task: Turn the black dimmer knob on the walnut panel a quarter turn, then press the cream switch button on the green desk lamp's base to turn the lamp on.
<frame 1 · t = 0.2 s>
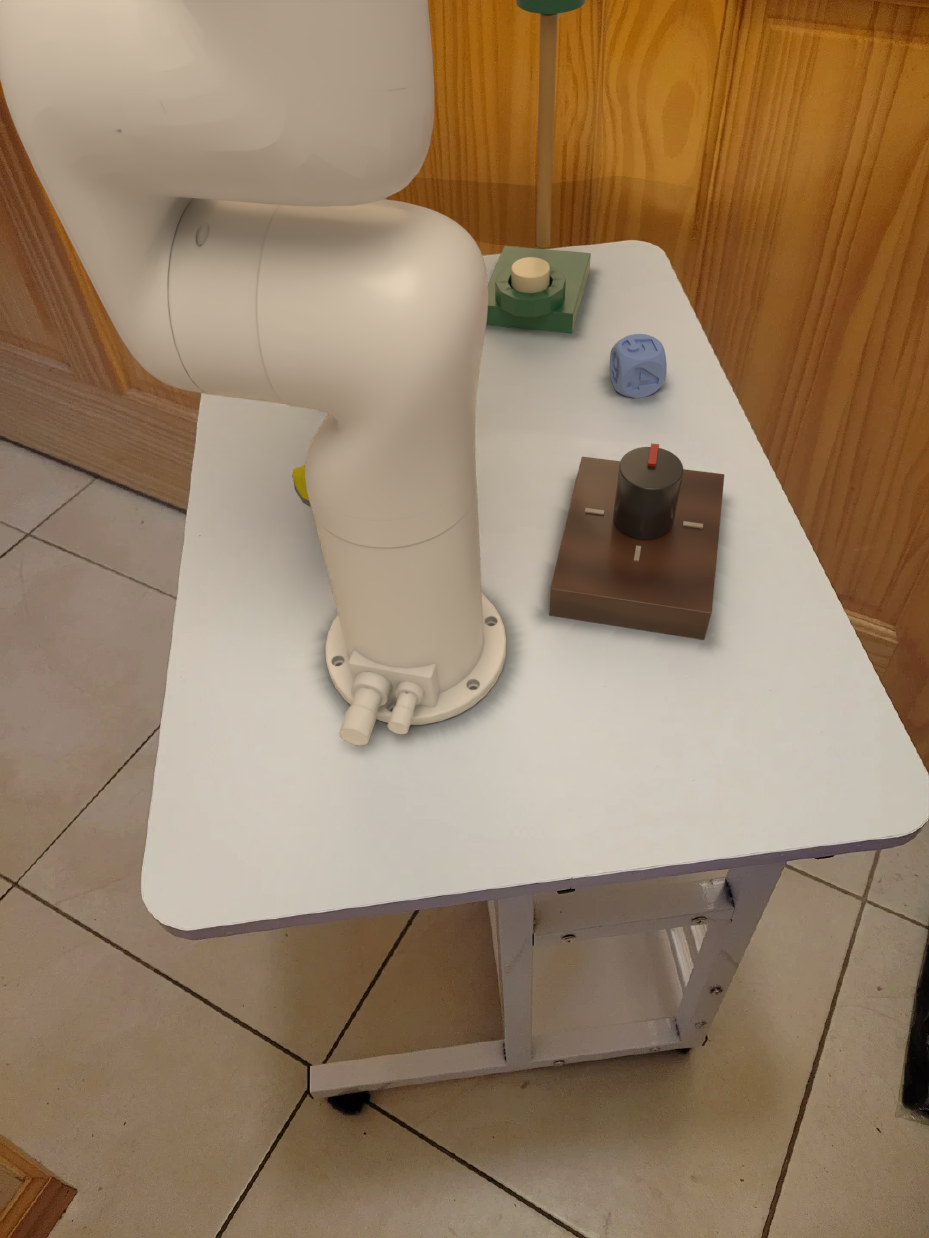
lamp switch: (530, 275, 84), point 4 cm above the table, slide at 0.1 cm
gaming controller: (379, 476, 75), on the table
decorative dice: (635, 386, 81), on the table
dimmer panel: (637, 556, 68), on the table
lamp: (548, 103, 79), on the lamp base, point 17 cm above the table
lamp base: (536, 298, 90), on the table
dimmer knob: (647, 492, 64), point 6 cm above the table, hinge at 0.0°
plastic bottle: (371, 349, 86), on the table
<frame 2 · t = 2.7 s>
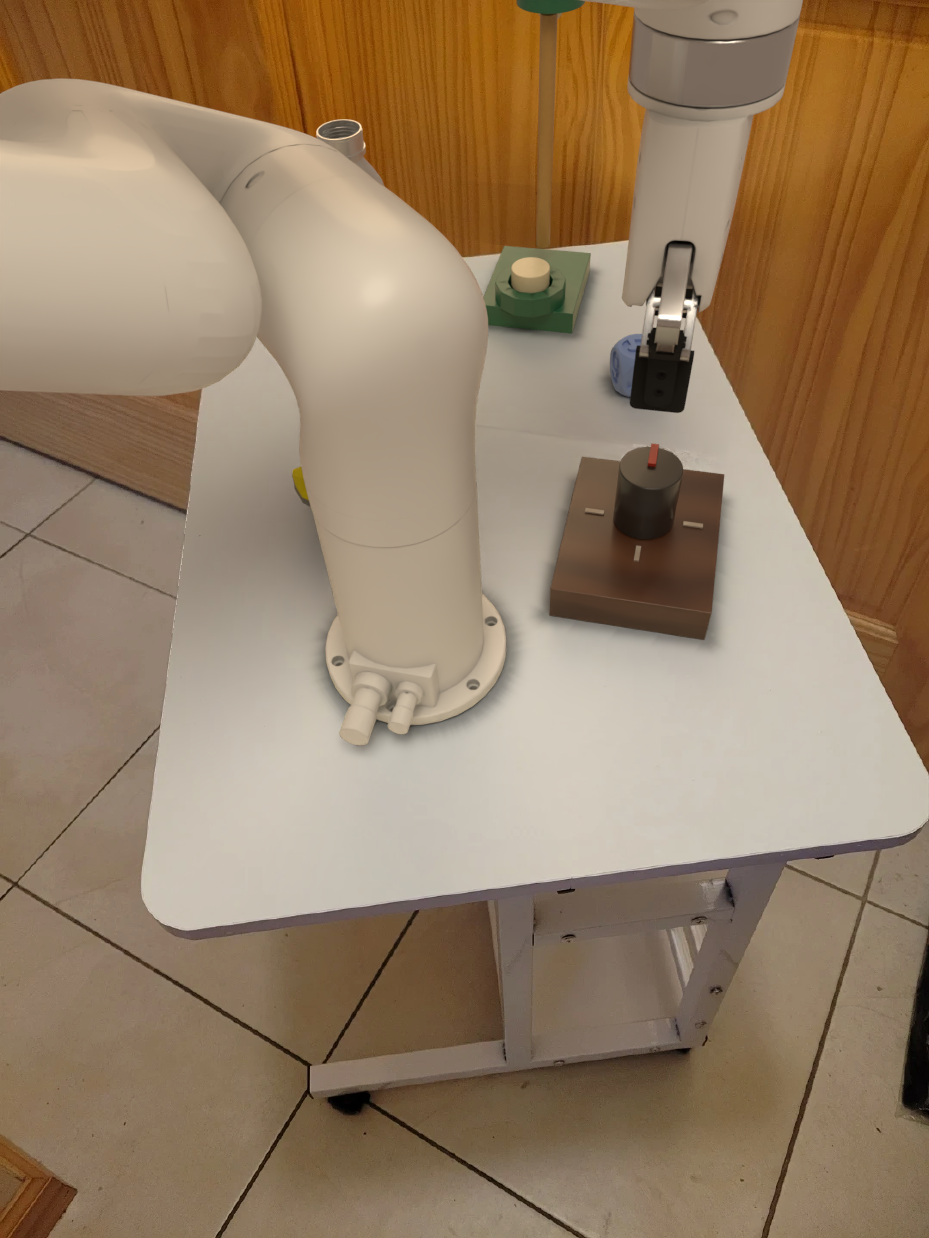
hand: (664, 358, 56), 16 cm above the table, tool pointing down, fingers open, 9 cm apart
nothing on the table moved.
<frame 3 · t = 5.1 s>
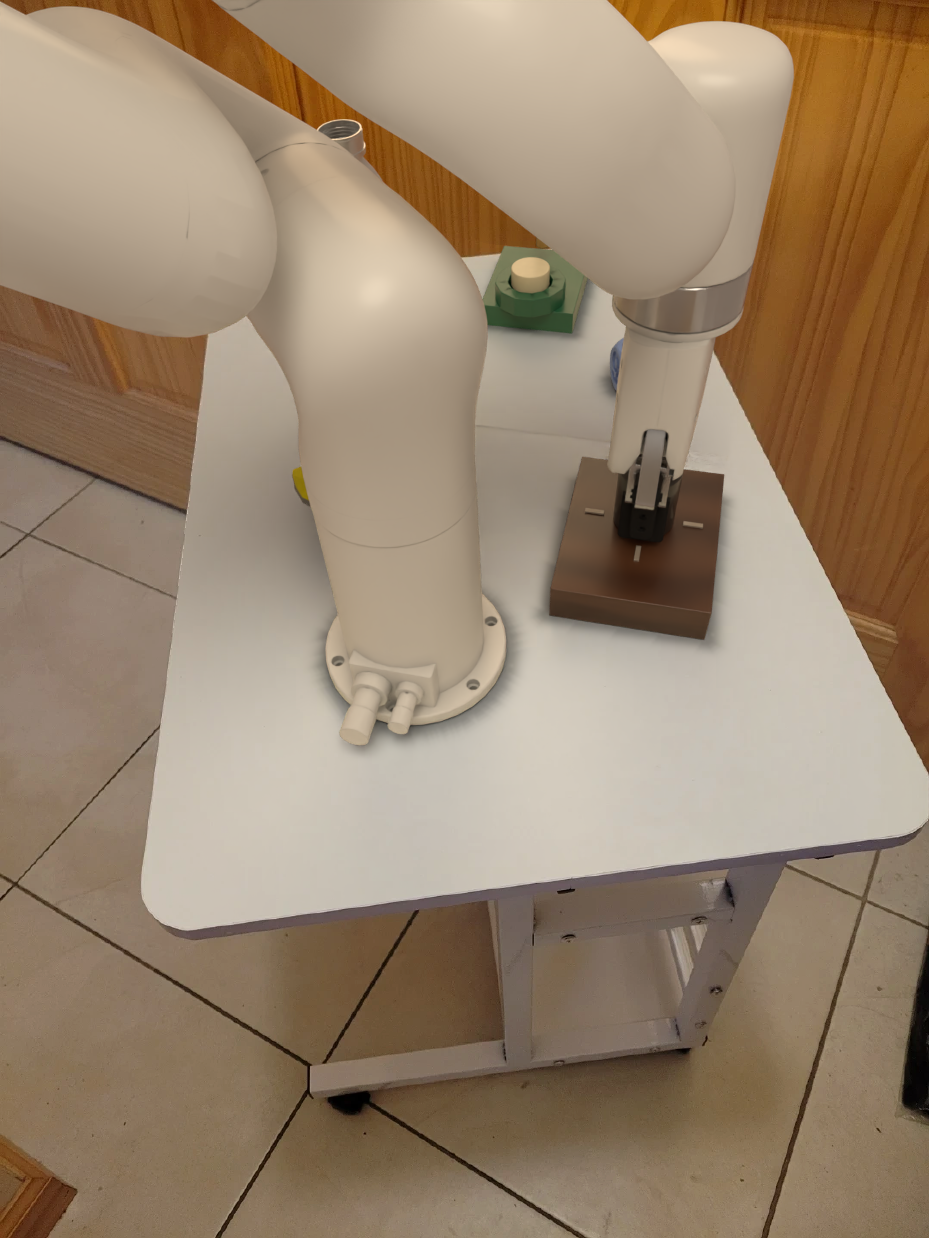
hand: (644, 509, 65), 4 cm above the table, tool pointing down, fingers closed on dimmer knob, 4 cm apart
dimmer knob: (647, 492, 64), point 6 cm above the table, hinge at 0.0°, touching gripper
everything else where it was.
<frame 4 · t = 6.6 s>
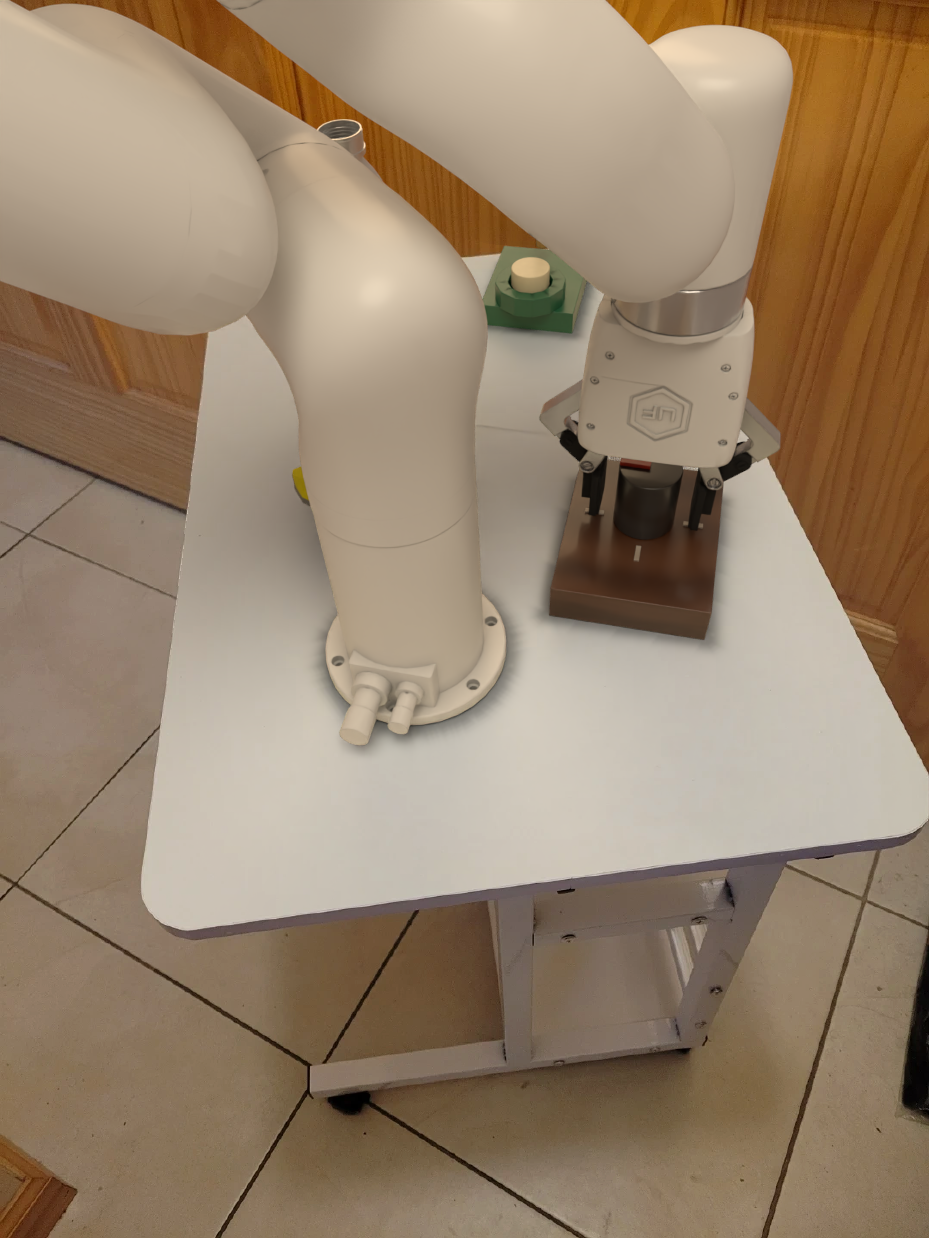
hand: (644, 508, 65), 4 cm above the table, tool pointing down, fingers open, 6 cm apart
dimmer knob: (647, 492, 64), point 6 cm above the table, hinge at 88.2°
everything else where it was.
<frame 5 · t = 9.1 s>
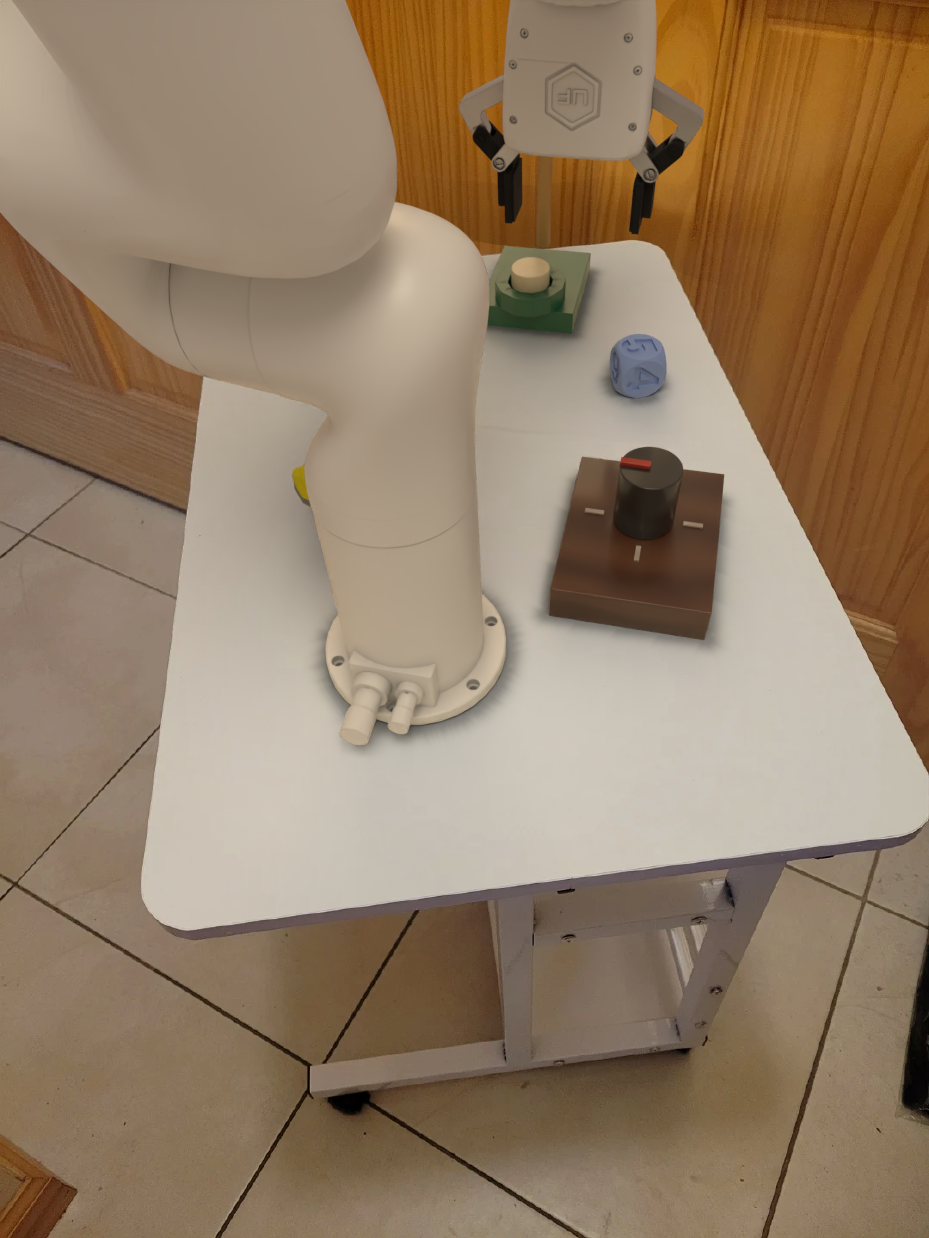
hand: (574, 219, 69), 15 cm above the table, tool pointing down, fingers open, 9 cm apart
nothing on the table moved.
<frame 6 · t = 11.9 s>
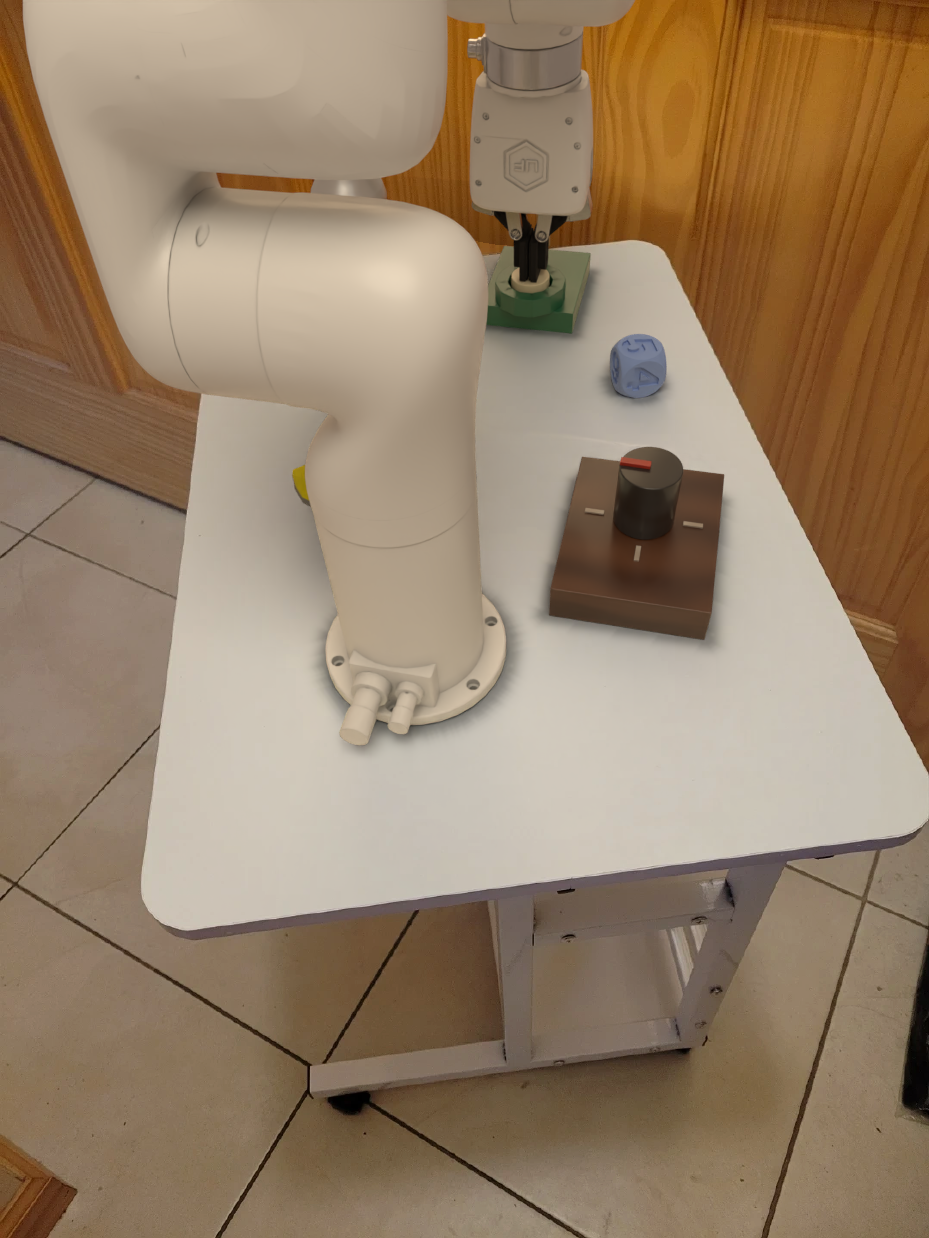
hand: (530, 273, 84), 5 cm above the table, tool pointing down, fingers closed
lamp switch: (530, 283, 85), point 4 cm above the table, slide at -0.7 cm, touching gripper
everything else where it was.
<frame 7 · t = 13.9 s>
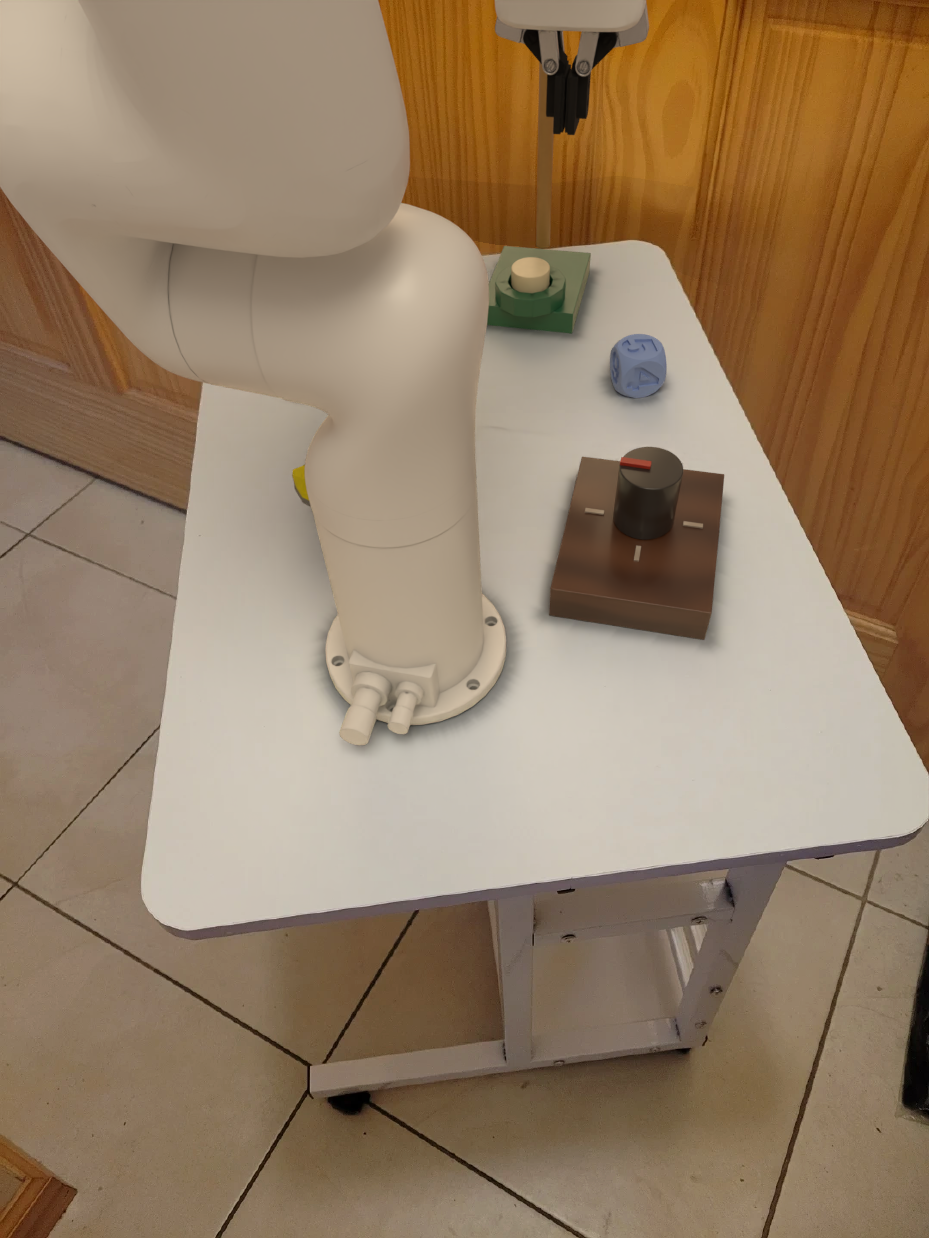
hand: (566, 127, 68), 20 cm above the table, tool pointing down, fingers closed
lamp switch: (530, 275, 84), point 4 cm above the table, slide at 0.1 cm
everything else where it was.
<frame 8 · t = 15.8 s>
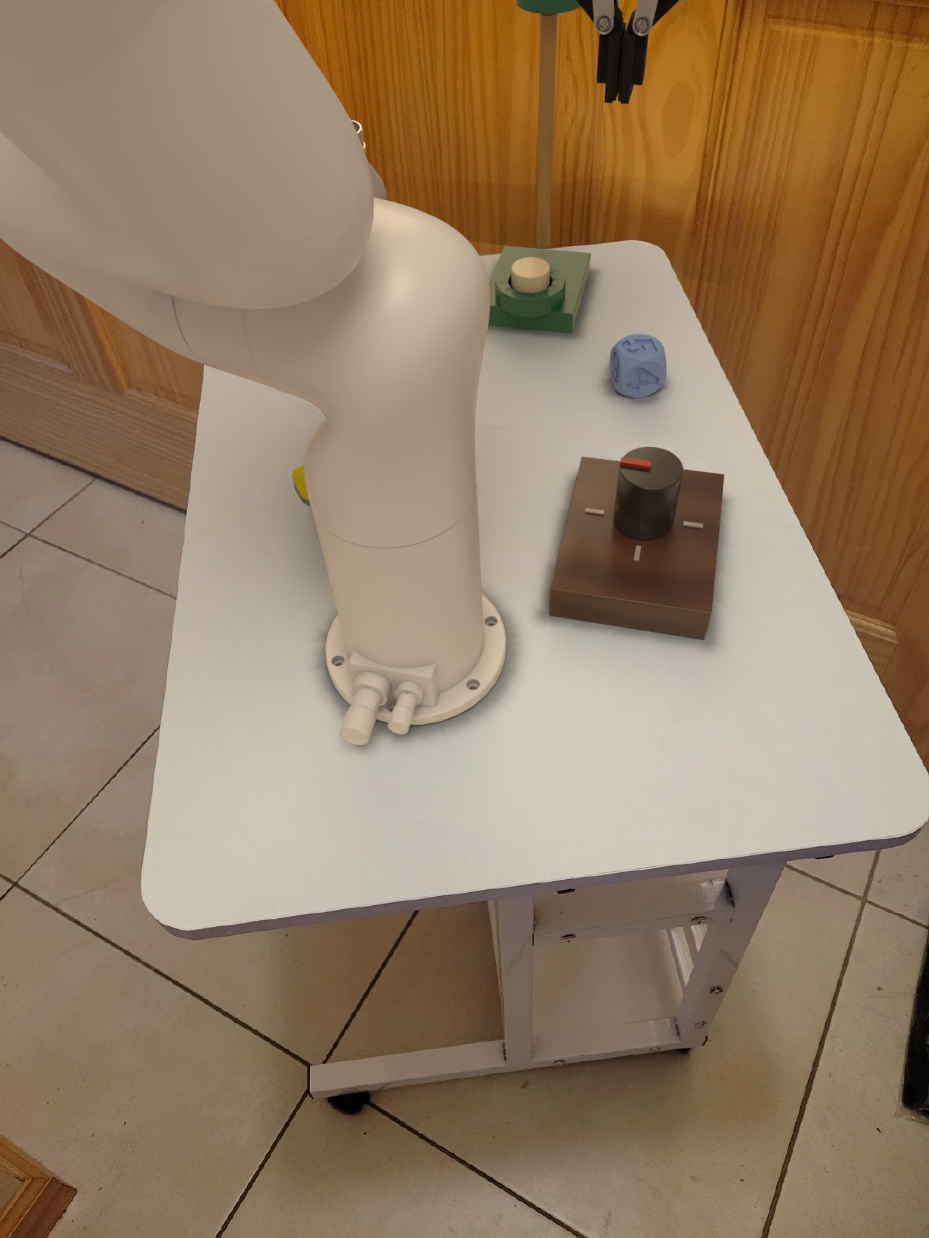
hand: (619, 94, 60), 25 cm above the table, tool pointing down, fingers closed
nothing on the table moved.
at the end: dimmer knob at +88° (first picture: +0°); lamp switch pushed in 1.1 cm at the most during the clip, back to where it started at the end; lamp switch slide at 0.1 cm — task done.
